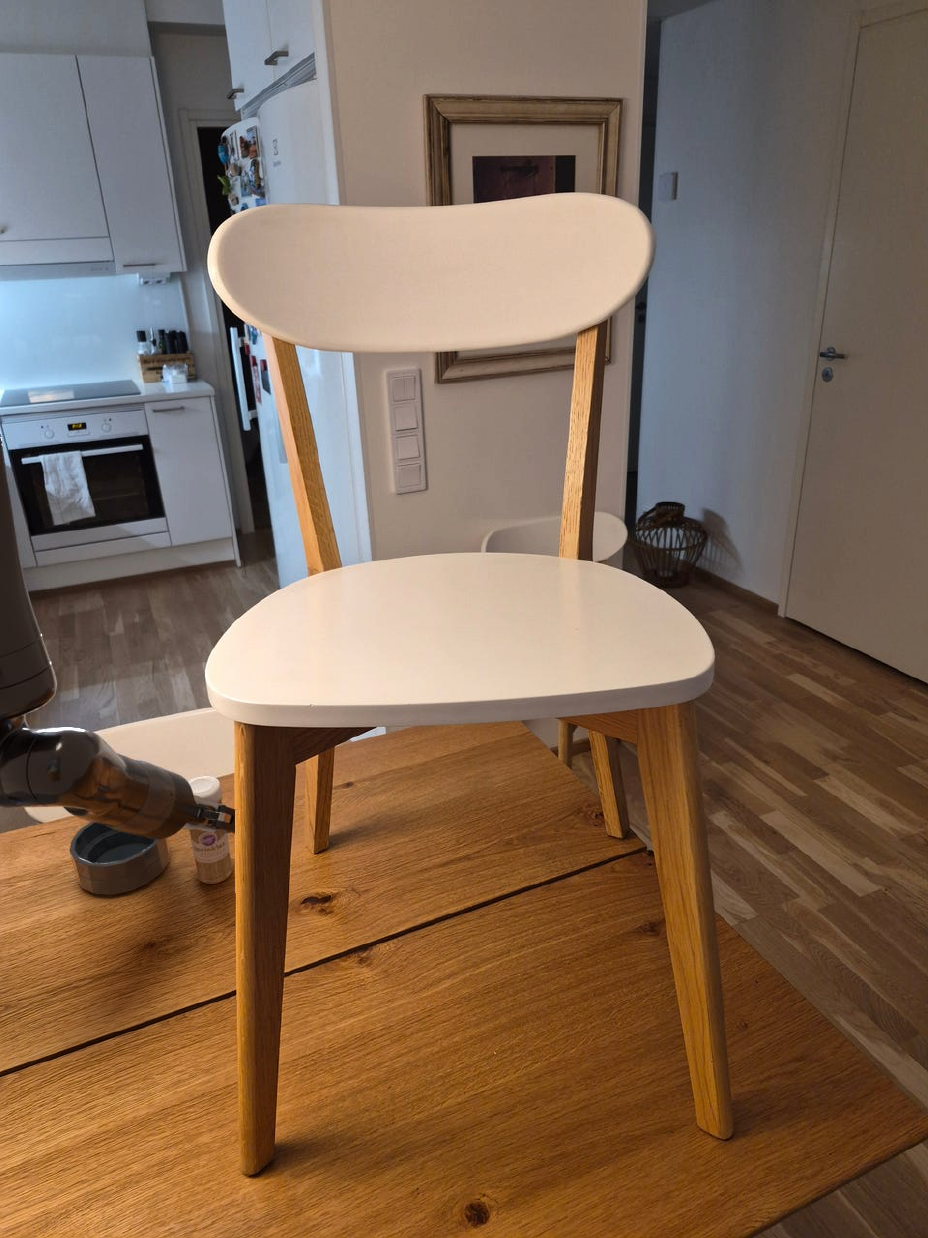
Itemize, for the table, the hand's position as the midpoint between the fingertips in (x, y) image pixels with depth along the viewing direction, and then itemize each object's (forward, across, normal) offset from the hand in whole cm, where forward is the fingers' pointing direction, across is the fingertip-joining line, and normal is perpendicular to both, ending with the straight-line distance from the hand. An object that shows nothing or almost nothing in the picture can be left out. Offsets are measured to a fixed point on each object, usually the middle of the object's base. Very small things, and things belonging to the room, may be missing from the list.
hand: (212, 821), depth 104 cm
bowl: (+3, +12, +7) cm, 14 cm away
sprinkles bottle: (+4, 0, +6) cm, 7 cm away
